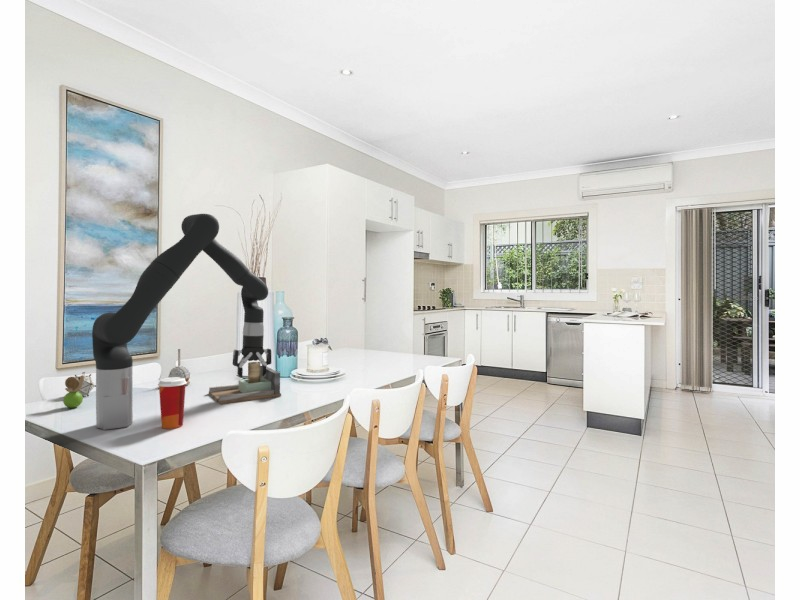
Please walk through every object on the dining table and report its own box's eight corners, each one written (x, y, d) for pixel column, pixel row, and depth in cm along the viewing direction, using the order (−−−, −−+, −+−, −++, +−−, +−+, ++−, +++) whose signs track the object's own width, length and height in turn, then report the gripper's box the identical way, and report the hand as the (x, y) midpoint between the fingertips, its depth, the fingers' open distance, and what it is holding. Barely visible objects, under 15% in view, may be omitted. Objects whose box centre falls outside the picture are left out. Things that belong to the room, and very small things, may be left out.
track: (281, 396, 174) (281, 372, 174) (220, 404, 162) (220, 378, 162) (265, 387, 189) (265, 365, 189) (208, 393, 177) (208, 370, 176)
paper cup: (176, 420, 142) (176, 375, 142) (192, 424, 138) (192, 378, 138) (151, 427, 135) (151, 380, 135) (167, 431, 132) (167, 383, 131)
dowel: (261, 389, 177) (261, 363, 176) (249, 390, 174) (250, 364, 174) (258, 386, 181) (258, 361, 180) (246, 388, 178) (246, 362, 178)
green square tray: (270, 392, 176) (271, 381, 176) (245, 395, 171) (245, 384, 171) (262, 387, 184) (262, 377, 184) (238, 390, 179) (238, 379, 179)
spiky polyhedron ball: (82, 407, 168) (76, 389, 162) (64, 397, 170) (58, 379, 164) (103, 391, 175) (98, 373, 169) (86, 381, 177) (80, 364, 171)
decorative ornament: (177, 382, 195) (177, 347, 194) (193, 383, 193) (193, 348, 192) (164, 386, 187) (164, 349, 186) (181, 387, 185) (181, 350, 185)
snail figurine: (79, 409, 152) (79, 373, 151) (59, 409, 152) (59, 373, 151) (89, 405, 157) (89, 370, 157) (69, 405, 157) (69, 370, 156)
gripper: (237, 335, 169) (235, 379, 170) (274, 334, 177) (273, 376, 178) (231, 333, 176) (230, 376, 176) (268, 332, 184) (266, 373, 184)
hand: (251, 376), depth 177 cm, fingers open, 8 cm apart
